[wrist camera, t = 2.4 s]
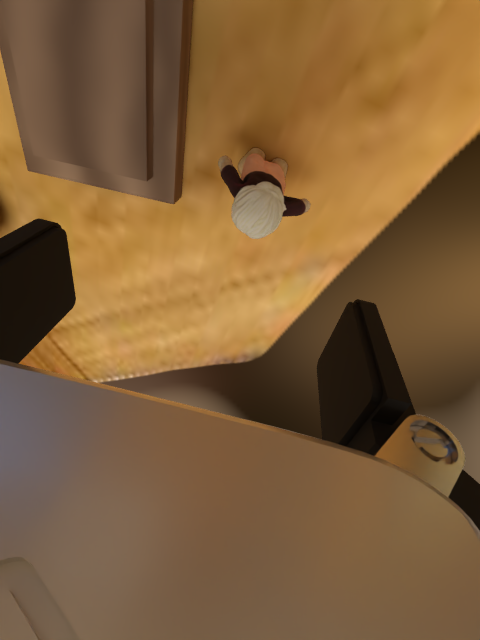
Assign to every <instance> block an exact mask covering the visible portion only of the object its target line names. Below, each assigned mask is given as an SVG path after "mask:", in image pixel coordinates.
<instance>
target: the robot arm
mask: <svg viewBox="0 0 480 640" xmlns="http://www.w3.org/2000/svg"><path fill="white" fill-rule="evenodd" d="M75 301H76V297H75V290H74V283H73V276H72V269H71V263H70V256H69V249H68V242H67V235H66V232H65V230H63V229H62V228H61V226H60V225H59V224H58V223H55V222H51V221H47V220H43V219H35V220H33V221H32V222H30V223H28V224H26V225H24V226H22V227H20V228H18V229H17V230H15V231H13V232H11V233H9V234H7V235H5V236H4V237H2V238H0V640H480V484H479V483H478V482H476V481H475V480H474V479H473V478H472V477H471V476H470V475H468V474H467V473H466V472H465V471H464V470H463V467H464V464H465V454H464V450H463V448H462V446H461V445H460V443H459V441H458V440H457V439H456V437H455V436H454V435H453V434H452V433H451V432H450V431H449V430H448V429H447V428H446V427H444V426H443V425H442V424H440V423H438V422H437V421H436V420H434V419H431V418H429V417H427V416H422V415H416V413H415V410H414V408H413V405H412V402H411V399H410V397H409V394H408V391H407V388H406V386H405V383H404V380H403V377H402V375H401V372H400V369H399V366H398V364H397V361H396V358H395V355H394V353H393V351H392V348H391V345H390V343H389V340H388V337H387V334H386V332H385V329H384V326H383V323H382V320H381V318H380V315H379V313H378V309H377V307H376V305H375V304H374V303H371V302H366V301H363V300H359V299H357V300H355V301H354V303H352V302H349V303H348V304H347V306H346V308H345V310H344V312H343V313H342V315H341V317H340V319H339V321H338V323H337V325H336V327H335V329H334V331H333V333H332V335H331V337H330V339H329V340H328V343H327V344H326V346H325V348H324V350H323V352H322V354H321V356H320V358H319V360H318V364H317V377H318V390H319V403H320V416H321V428H322V440H321V439H318V438H314V437H310V436H306V435H302V434H299V433H295V432H292V431H288V430H284V429H281V428H277V427H273V426H269V425H265V424H261V423H257V422H253V421H249V420H245V419H241V418H237V417H233V416H229V415H225V414H221V413H217V412H213V411H209V410H205V409H201V408H197V407H193V406H189V405H185V404H181V403H177V402H173V401H169V400H165V399H161V398H157V397H153V396H148V395H145V394H141V393H137V392H133V391H129V390H124V389H120V388H116V387H112V386H108V385H104V384H100V383H96V382H92V381H88V380H84V379H80V378H75V377H71V376H67V375H63V374H59V373H55V372H50V371H46V370H42V369H38V368H34V367H30V366H25V365H21V364H18V363H19V362H20V361H21V360H22V359H23V358H24V357H25V356H26V355H27V354H28V353H29V352H30V351H31V350H32V349H33V348H34V347H35V346H36V345H37V344H38V343H39V342H40V341H41V340H42V339H43V338H44V337H45V336H46V335H47V334H48V333H49V332H50V331H51V330H52V329H53V328H54V326H55V325H56V324H57V323H58V322H59V321H60V320H61V319H62V318H63V317H64V316H65V315H66V314H67V313H68V312H69V311H70V310H71V309H72V308H73V306H74V305H75Z"/></svg>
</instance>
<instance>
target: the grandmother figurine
mask: <svg viewBox="0 0 480 640" xmlns="http://www.w3.org/2000/svg"><path fill="white" fill-rule="evenodd" d="M218 165H219V168H220V171H221V177H222V179H223V180H224V182H225V183H226V185H227V186H228V188H229V190H230V192H231V194H232V195H233V197H234V198H235V199H234V203H233V205H232V219H233V222H234V223H235V225H236V227H237V228H238V229H239V230H240V231H242V232H243V233H245V234H246V235H248V236H249V237H250V238H253V239H259V238H262V237H265V236H267V235H268V234H271V233H272V232H274V231H275V229H277V227H278V226H279V224H280V222H281V219H282V216H298V215H301V214H303V213H305V212H307V211H308V210H309V209H310V202H309V201H308V200H307V199H297V198H292V197H287V196H283V195H284V191H285V186H286V184H285V177H286V173H287V168H288V166H287V163H286V161H284V160H283V159H280V158H275V159H273V160H272V161H271V162H268V161H265V154H264V152H263V151H262V150H261V149H259V148H252V149H251V150H250V151H249V152H248V153H247V154H246V155H245V156H244V157H243V158H242V159H241V160H240V162H239V164H238V170H239V172H240V174H241V178H240V176H239V174H238V172H237V170H236V169H235V168H234V166H233V164H232V161H231V159H230V158H229V157H228V156H222V157H221V158H220V159H219V161H218Z"/></svg>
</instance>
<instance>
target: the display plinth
mask: <svg viewBox="0 0 480 640" xmlns="http://www.w3.org/2000/svg"><path fill="white" fill-rule="evenodd" d="M192 10H193V0H0V50H1V55H2V59H3V63H4V68H5V72H6V77H7V81H8V85H9V90H10V94H11V98H12V103H13V107H14V112H15V116H16V120H17V125H18V129H19V134H20V138H21V142H22V147H23V151H24V155H25V160H26V164H27V169H28V171H31V172H36V173H40V174H44V175H49V176H53V177H57V178H62V179H66V180H70V181H75V182H79V183H83V184H88V185H92V186H96V187H101V188H105V189H109V190H114V191H118V192H122V193H127V194H131V195H135V196H140V197H144V198H149V199H153V200H157V201H162V202H166V203H170V204H175V202H176V201H177V200H178V199H179V198H180V197H181V195H182V178H183V161H184V144H185V128H186V111H187V94H188V77H189V60H190V44H191V27H192Z"/></svg>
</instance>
